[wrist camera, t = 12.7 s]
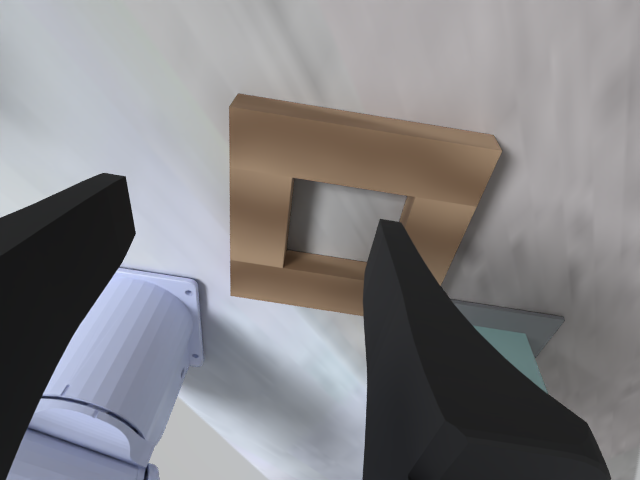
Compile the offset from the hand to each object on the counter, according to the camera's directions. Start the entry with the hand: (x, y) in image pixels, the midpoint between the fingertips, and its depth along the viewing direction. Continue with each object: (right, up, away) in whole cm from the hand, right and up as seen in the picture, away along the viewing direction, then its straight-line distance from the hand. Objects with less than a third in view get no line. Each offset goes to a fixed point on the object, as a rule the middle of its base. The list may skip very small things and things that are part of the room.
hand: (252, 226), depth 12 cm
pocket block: (+3, +1, +11) cm, 12 cm away
